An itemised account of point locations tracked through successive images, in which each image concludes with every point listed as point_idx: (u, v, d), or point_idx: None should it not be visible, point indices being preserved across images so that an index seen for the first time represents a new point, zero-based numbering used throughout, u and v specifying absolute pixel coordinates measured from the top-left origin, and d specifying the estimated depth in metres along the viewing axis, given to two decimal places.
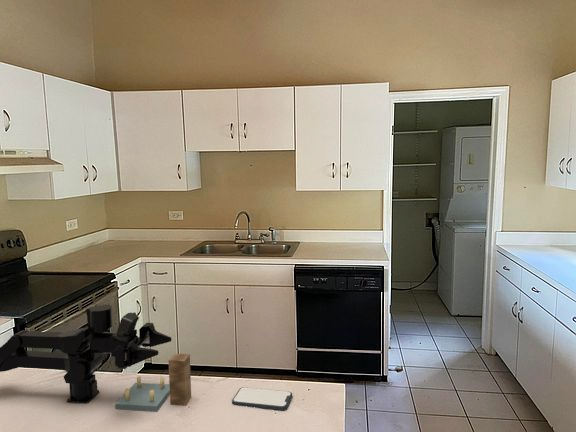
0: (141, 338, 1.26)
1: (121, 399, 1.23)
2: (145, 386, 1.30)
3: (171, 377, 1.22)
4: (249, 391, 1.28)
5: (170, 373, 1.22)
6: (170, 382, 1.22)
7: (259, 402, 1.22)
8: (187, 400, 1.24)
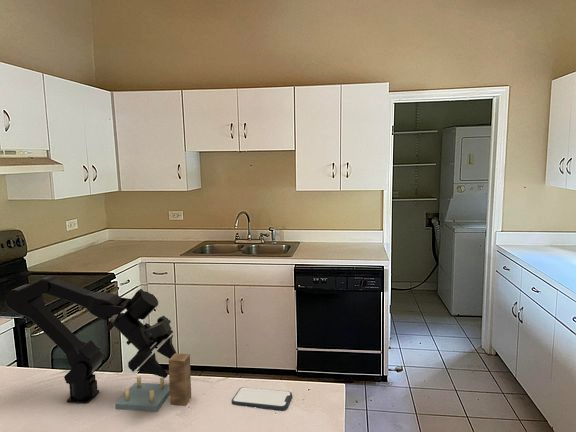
0: (157, 342, 1.27)
1: (121, 399, 1.23)
2: (145, 386, 1.30)
3: (171, 377, 1.22)
4: (249, 391, 1.28)
5: (170, 373, 1.22)
6: (170, 382, 1.22)
7: (259, 402, 1.22)
8: (187, 400, 1.24)
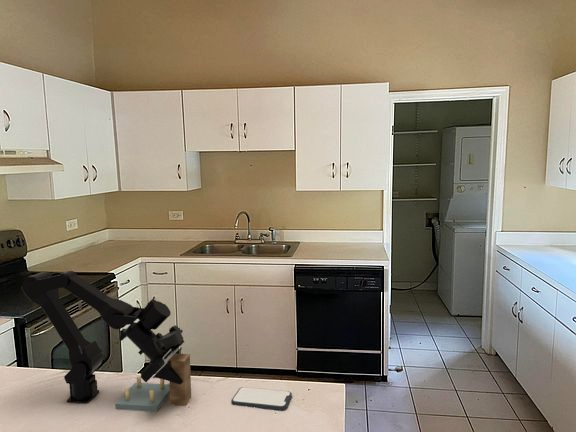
0: (169, 352, 1.27)
1: (121, 399, 1.23)
2: (145, 386, 1.30)
3: None
4: (248, 391, 1.28)
5: None
6: (170, 382, 1.22)
7: (258, 402, 1.22)
8: (187, 400, 1.24)
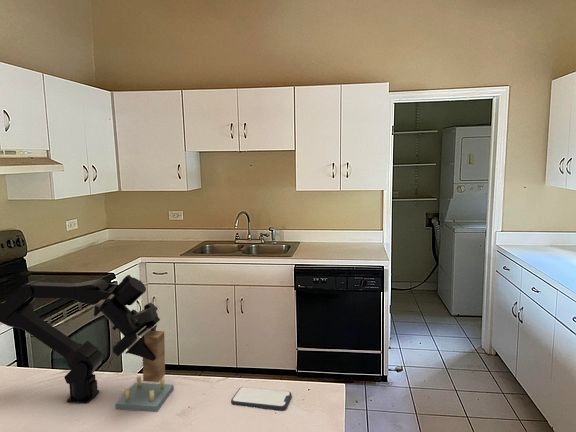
0: (144, 329, 1.27)
1: (121, 399, 1.23)
2: (145, 386, 1.30)
3: None
4: (248, 391, 1.28)
5: None
6: (143, 358, 1.22)
7: (258, 402, 1.22)
8: (160, 377, 1.24)
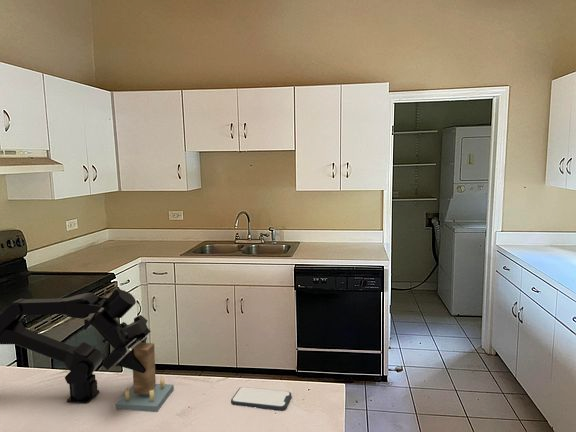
0: (134, 341, 1.28)
1: (121, 399, 1.23)
2: None
3: None
4: (248, 391, 1.28)
5: None
6: (133, 371, 1.23)
7: (258, 402, 1.22)
8: (151, 389, 1.25)
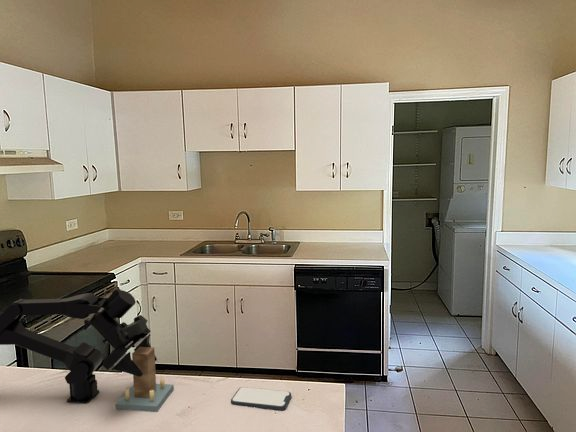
0: (134, 341, 1.28)
1: (121, 399, 1.23)
2: None
3: None
4: (248, 391, 1.28)
5: None
6: (134, 375, 1.23)
7: (258, 402, 1.22)
8: None
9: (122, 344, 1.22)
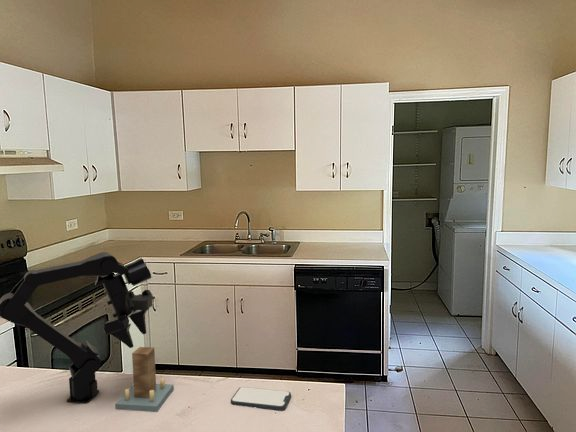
0: (133, 310, 1.33)
1: (121, 399, 1.23)
2: None
3: (135, 370, 1.23)
4: (248, 391, 1.28)
5: (134, 366, 1.23)
6: (134, 375, 1.23)
7: (257, 402, 1.22)
8: None
9: (125, 312, 1.27)
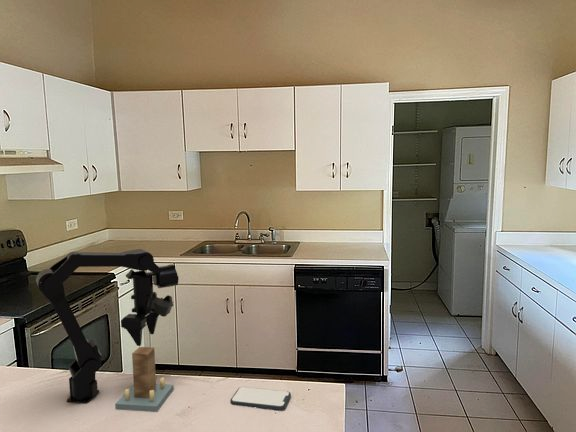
0: None
1: (121, 399, 1.23)
2: None
3: (135, 370, 1.23)
4: (247, 391, 1.28)
5: (134, 366, 1.23)
6: (134, 375, 1.23)
7: (257, 402, 1.22)
8: None
9: (143, 311, 1.32)
